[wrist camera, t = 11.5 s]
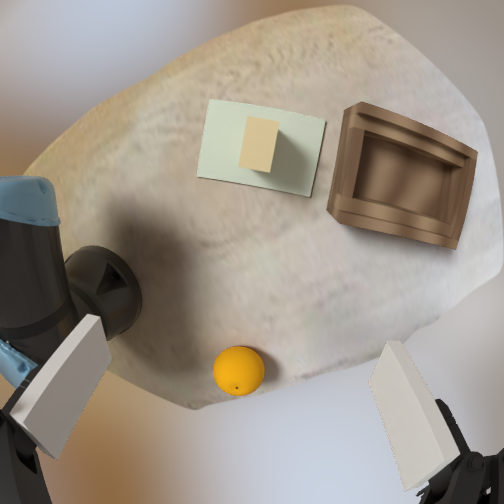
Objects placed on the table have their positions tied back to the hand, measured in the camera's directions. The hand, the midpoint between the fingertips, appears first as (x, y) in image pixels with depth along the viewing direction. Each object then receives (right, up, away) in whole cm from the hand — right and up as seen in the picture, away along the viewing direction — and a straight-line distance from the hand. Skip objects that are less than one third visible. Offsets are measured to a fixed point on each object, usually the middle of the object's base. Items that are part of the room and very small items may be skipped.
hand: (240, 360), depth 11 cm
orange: (-1, -12, +31) cm, 34 cm away
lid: (+1, +17, +20) cm, 26 cm away
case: (+19, +15, +20) cm, 31 cm away
